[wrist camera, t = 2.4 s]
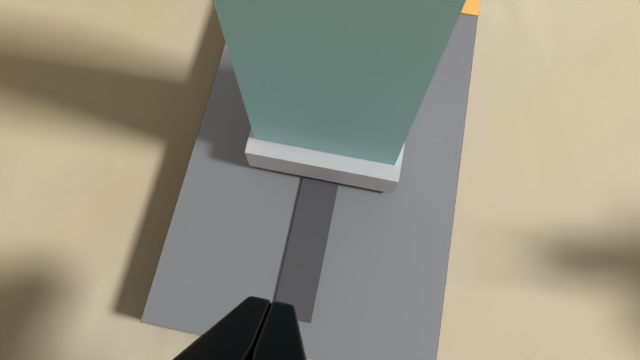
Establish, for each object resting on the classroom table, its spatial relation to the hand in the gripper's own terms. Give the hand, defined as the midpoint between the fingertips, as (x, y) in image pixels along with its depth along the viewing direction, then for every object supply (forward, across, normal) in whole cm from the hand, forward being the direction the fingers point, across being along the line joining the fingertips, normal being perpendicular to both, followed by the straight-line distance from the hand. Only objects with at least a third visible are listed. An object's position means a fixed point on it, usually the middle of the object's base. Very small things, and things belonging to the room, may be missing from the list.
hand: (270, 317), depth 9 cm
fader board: (+11, 0, 0) cm, 11 cm away
